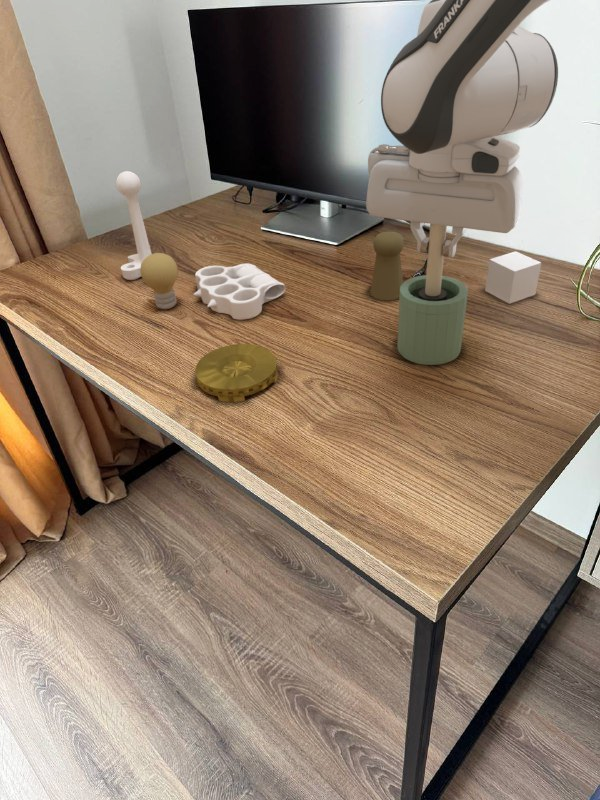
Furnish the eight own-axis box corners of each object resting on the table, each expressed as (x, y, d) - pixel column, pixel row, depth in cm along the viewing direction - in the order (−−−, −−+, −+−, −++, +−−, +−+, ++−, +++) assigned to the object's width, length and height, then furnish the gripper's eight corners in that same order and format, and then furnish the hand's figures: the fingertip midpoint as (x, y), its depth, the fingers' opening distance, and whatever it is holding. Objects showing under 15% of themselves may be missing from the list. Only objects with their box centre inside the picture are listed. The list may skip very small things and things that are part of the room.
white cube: (510, 282, 107) (515, 251, 103) (535, 294, 102) (541, 262, 99) (484, 290, 105) (489, 259, 101) (509, 303, 100) (514, 271, 97)
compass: (294, 375, 87) (293, 363, 86) (230, 412, 81) (228, 400, 79) (243, 347, 94) (242, 335, 93) (181, 379, 88) (179, 367, 87)
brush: (448, 307, 88) (458, 208, 79) (439, 320, 85) (449, 218, 76) (422, 303, 89) (430, 204, 80) (413, 314, 86) (420, 214, 77)
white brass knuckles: (295, 302, 106) (224, 328, 100) (246, 270, 118) (180, 291, 112) (294, 285, 104) (221, 311, 97) (244, 254, 116) (177, 275, 110)
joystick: (168, 278, 117) (147, 175, 105) (132, 289, 114) (106, 184, 102) (150, 260, 125) (127, 163, 113) (115, 270, 122) (89, 171, 110)
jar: (468, 339, 92) (475, 281, 86) (449, 370, 86) (456, 310, 80) (410, 327, 96) (413, 270, 90) (387, 356, 90) (390, 297, 84)
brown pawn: (364, 290, 108) (364, 232, 101) (392, 282, 110) (394, 225, 103) (381, 303, 103) (382, 243, 97) (410, 295, 105) (413, 235, 99)
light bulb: (165, 295, 111) (154, 245, 105) (191, 302, 108) (181, 250, 102) (142, 310, 107) (129, 258, 101) (168, 317, 104) (156, 264, 98)
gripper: (358, 149, 75) (358, 251, 84) (522, 162, 67) (504, 274, 75) (377, 137, 80) (375, 235, 88) (534, 148, 71) (515, 255, 80)
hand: (436, 253), depth 82 cm, fingers closed on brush, 2 cm apart
